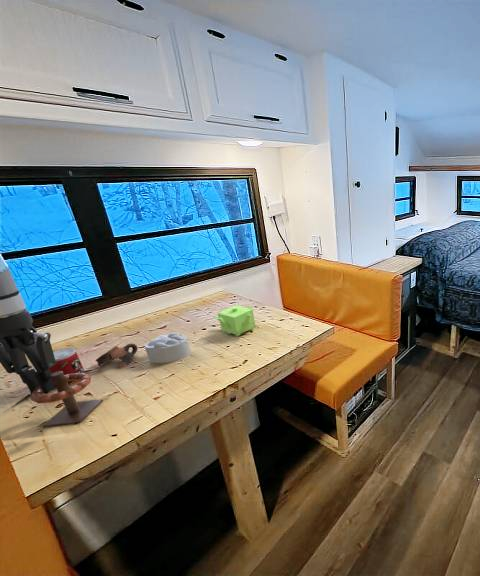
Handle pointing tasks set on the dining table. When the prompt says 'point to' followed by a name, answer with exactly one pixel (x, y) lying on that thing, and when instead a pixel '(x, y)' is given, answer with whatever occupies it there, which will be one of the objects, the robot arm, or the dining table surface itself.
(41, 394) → the ring
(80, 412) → the post
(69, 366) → the canned food
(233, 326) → the knobby lime green cube
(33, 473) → the dining table surface
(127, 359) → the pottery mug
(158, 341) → the lumpy-topped squat cylinder
